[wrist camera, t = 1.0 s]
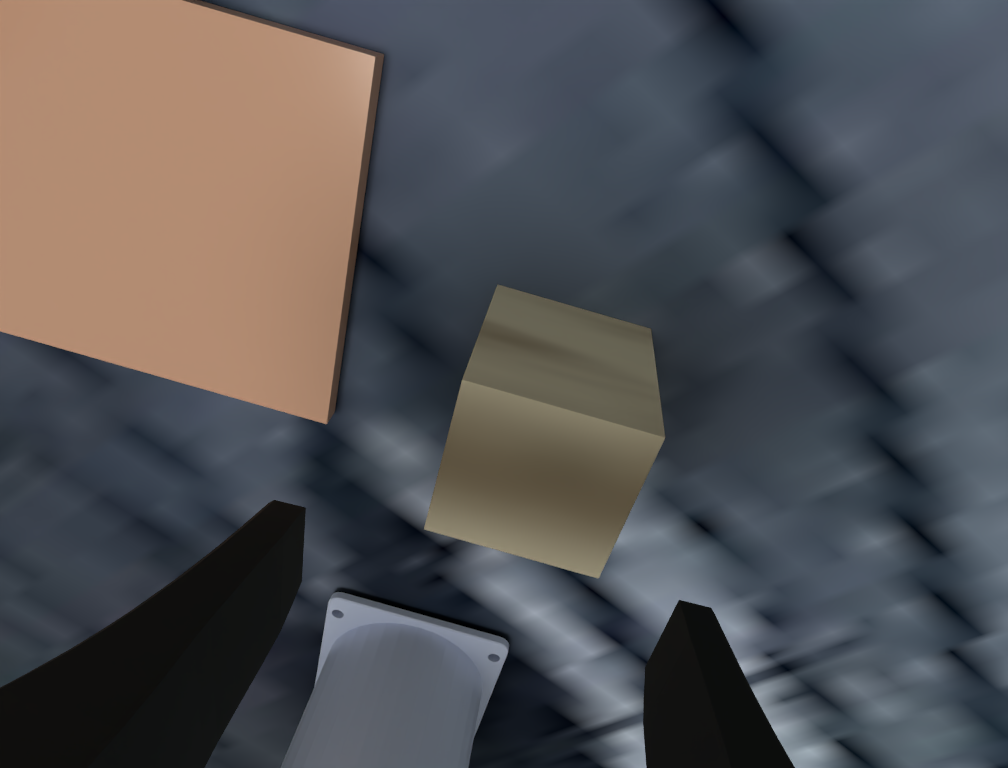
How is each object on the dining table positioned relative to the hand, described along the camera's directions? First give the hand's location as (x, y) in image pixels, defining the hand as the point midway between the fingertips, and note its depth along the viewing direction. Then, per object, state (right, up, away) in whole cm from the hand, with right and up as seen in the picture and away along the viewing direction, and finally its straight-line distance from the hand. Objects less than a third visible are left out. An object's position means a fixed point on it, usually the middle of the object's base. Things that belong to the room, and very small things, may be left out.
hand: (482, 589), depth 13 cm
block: (+2, +4, +10) cm, 11 cm away
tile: (-10, +9, +8) cm, 16 cm away
